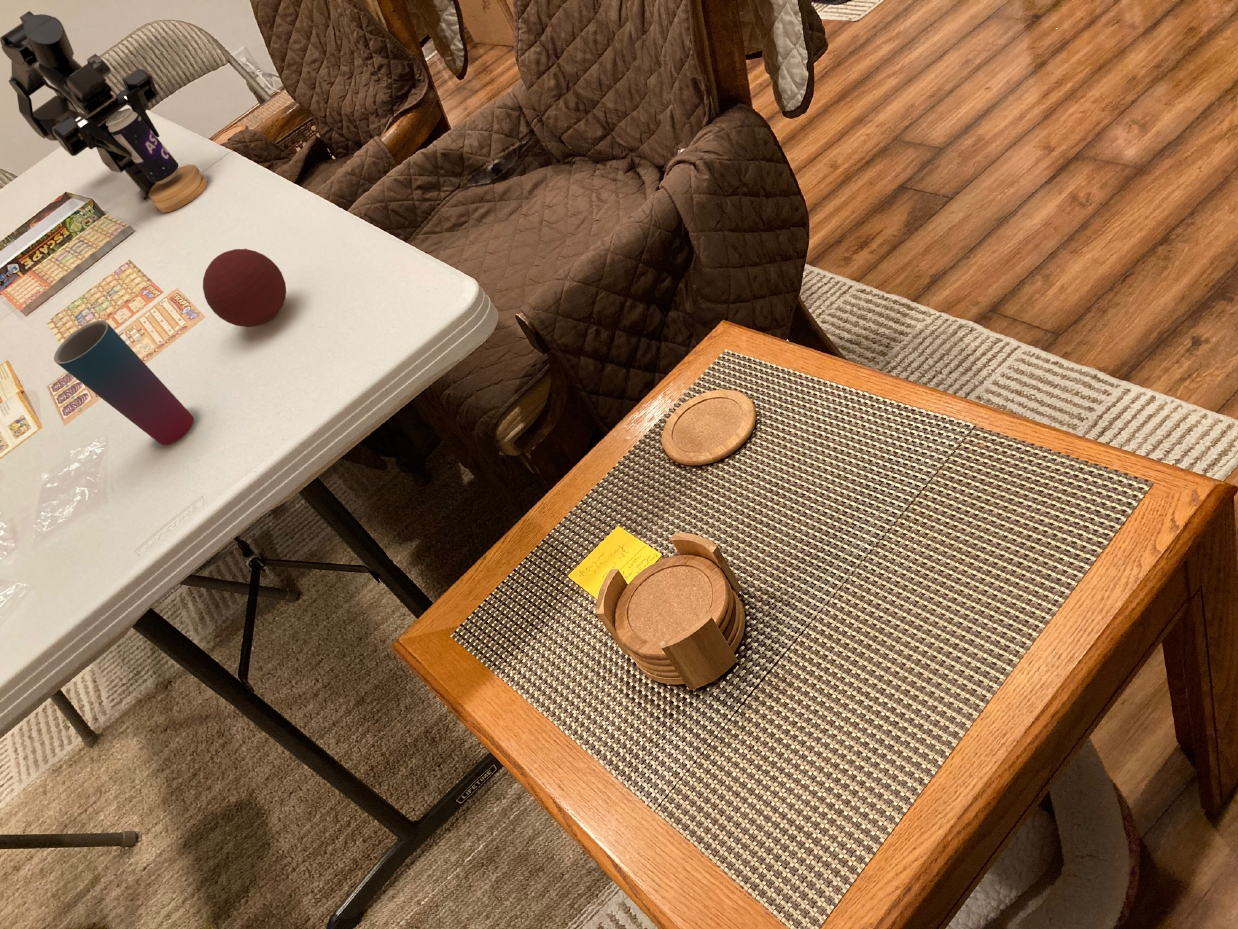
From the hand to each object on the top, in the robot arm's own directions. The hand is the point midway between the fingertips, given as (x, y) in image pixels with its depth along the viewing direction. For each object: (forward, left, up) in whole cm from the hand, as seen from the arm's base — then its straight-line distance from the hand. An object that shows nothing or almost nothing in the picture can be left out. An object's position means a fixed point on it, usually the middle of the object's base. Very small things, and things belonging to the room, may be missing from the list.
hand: (144, 145), depth 150 cm
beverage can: (-1, 0, -7) cm, 7 cm away
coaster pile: (-1, 0, -10) cm, 11 cm away
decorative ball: (+59, +5, -11) cm, 60 cm away
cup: (+71, -11, -11) cm, 73 cm away
